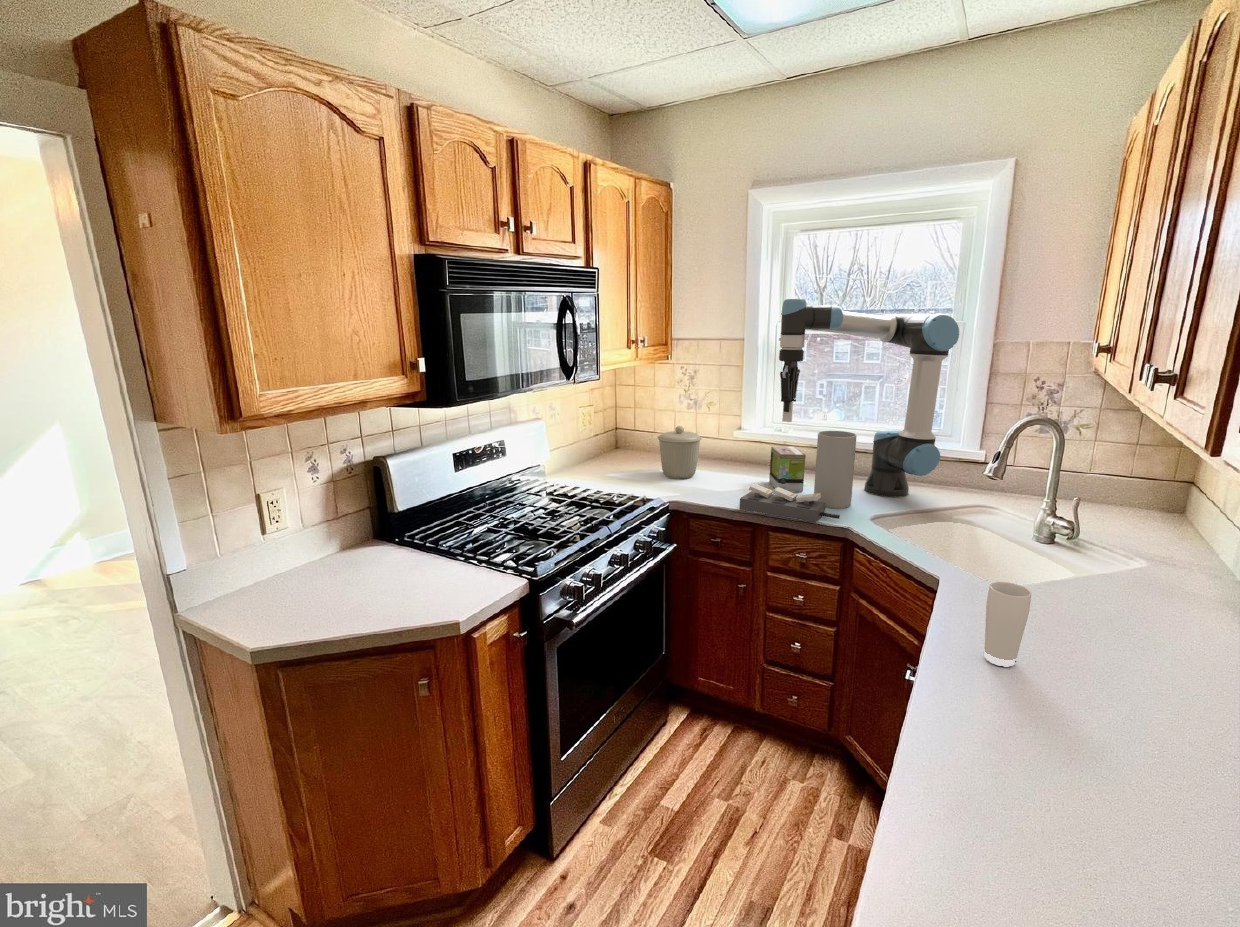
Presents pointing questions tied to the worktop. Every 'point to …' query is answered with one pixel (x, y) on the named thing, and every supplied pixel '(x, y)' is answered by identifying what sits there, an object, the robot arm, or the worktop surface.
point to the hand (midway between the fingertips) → (787, 421)
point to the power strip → (784, 507)
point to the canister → (679, 453)
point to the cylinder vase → (835, 468)
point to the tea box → (787, 468)
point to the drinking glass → (1006, 619)
